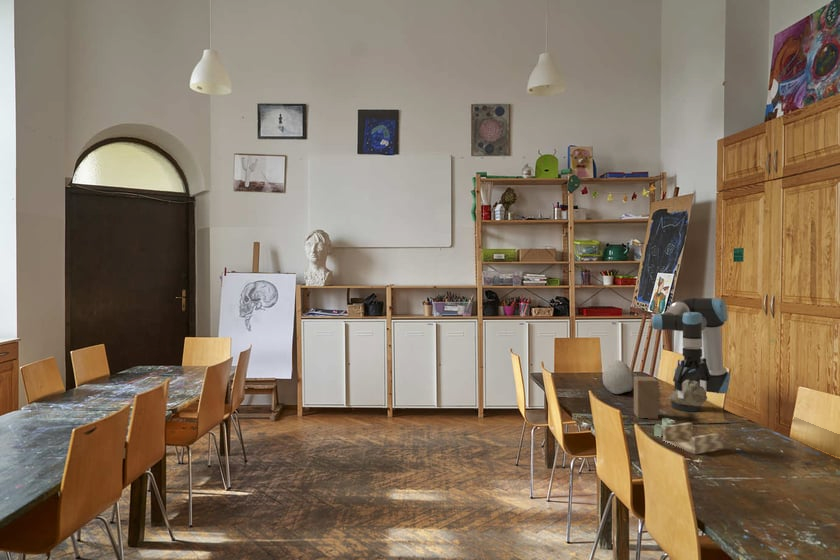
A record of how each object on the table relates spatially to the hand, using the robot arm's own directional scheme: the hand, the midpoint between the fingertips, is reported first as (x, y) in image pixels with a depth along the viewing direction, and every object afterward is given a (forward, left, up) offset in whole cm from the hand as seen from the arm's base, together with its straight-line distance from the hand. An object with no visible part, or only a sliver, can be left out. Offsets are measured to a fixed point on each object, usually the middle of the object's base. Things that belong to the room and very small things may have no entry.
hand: (692, 396), depth 224 cm
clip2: (+4, -15, -21) cm, 27 cm away
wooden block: (-14, -42, -22) cm, 49 cm away
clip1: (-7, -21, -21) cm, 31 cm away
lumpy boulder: (+1, -1, -4) cm, 4 cm away
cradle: (0, 0, -21) cm, 21 cm away
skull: (-38, -90, -22) cm, 100 cm away
